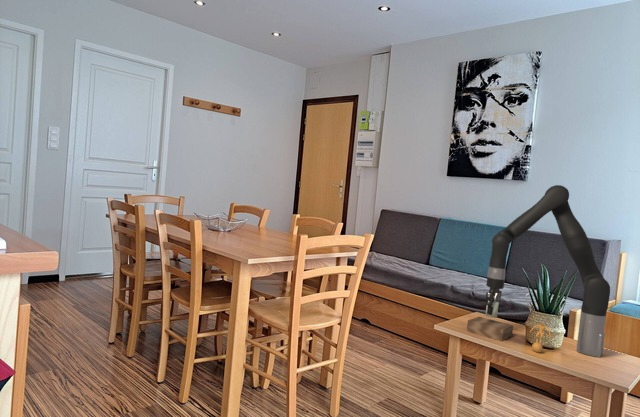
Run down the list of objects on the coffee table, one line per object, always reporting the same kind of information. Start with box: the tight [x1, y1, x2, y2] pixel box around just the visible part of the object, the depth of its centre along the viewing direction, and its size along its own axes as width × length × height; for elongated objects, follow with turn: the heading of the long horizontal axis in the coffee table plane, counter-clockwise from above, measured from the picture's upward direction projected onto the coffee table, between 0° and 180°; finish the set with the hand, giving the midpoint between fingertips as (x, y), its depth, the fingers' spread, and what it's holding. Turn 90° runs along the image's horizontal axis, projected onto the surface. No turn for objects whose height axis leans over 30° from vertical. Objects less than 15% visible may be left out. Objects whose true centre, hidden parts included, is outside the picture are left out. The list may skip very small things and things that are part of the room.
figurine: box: [529, 322, 552, 353], centre depth 187 cm, size 8×6×12 cm
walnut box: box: [466, 316, 514, 342], centre depth 208 cm, size 16×14×5 cm
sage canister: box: [485, 301, 500, 319], centre depth 208 cm, size 5×5×7 cm
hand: (491, 313), depth 208 cm, fingers closed on sage canister, 5 cm apart
